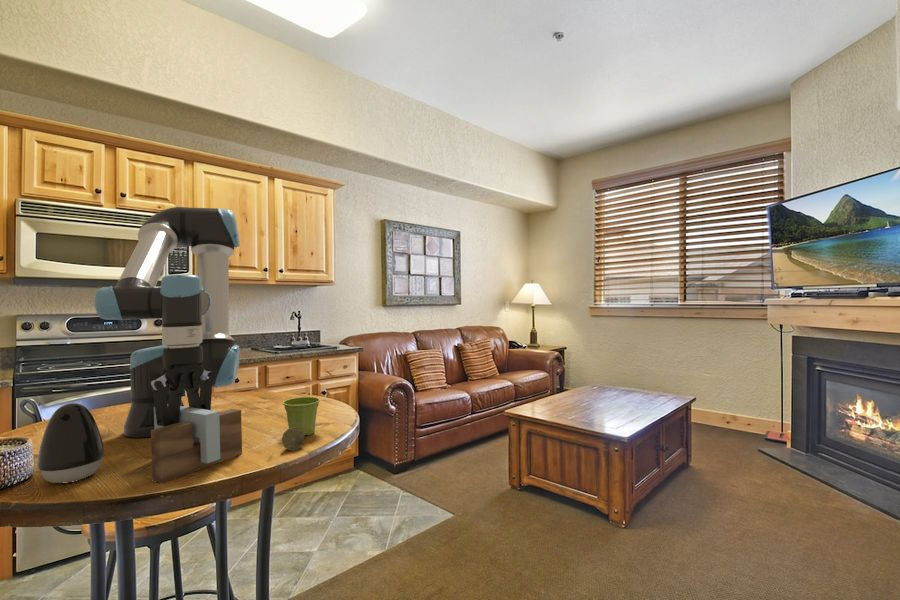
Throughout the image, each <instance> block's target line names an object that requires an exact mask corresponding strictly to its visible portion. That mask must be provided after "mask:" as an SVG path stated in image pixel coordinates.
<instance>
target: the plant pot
mask: <svg viewBox="0 0 900 600" xmlns="http://www.w3.org/2000/svg"><path fill="white" fill-rule="evenodd" d="M320 402H321V398H319V397H316V396H299V397H292V398H289V399H286V400H283V401H282V405H283V407H284V409H285V412H286V413H285V414H286V419H287V424H288V425H287V426H288V429H289V428H298V429H300V430H301V431H302V432H303V433H304V436H311V435H313V434H314V433H315V429H316V419H317V412H318V408H319V403H320Z"/></svg>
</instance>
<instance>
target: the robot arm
mask: <svg viewBox="0 0 900 600" xmlns="http://www.w3.org/2000/svg"><path fill="white" fill-rule="evenodd" d="M137 239H138V241H137V244H136V246H135V248H134V250H133V252H132V254H131V255H130V258H129V259H128V261H127V263H126V265H125V267H124V269H123V271H122V273H121V274H120V275H121V276H120V277H119V279H118V280H117V283H116V284H115V286H112V285H110V286H105V287H101V288H98V289H97V291H96V292H95V295H94V308H95V312H96V315H97V316H98V317H99V318H100V319H102V320H108V321H109V320H111V321H112V320H113V321H114V320H116V321H117V320H118V321H128V320H129V321H130V320H150V319H152V320H153V319H154V320H155V319H161V339H162V340H161V344H162V345H158V346H157V345H156V346H151V347H146V348H141V349H138V350H135V351H133V352H132V353H131V355H130V358H129V359H130V364H129V368H128V369H129V374H130V375H129V378H130V400H131V401H130V408H129V409H128V413H127V416H126V418H125V422H124V425H123V436H124V437H127V438H133V439H134V438H151V430H153V429H154V407H155V412H156V421H157V425H158V426H164V427H165V426H169V425H172V424H176V423H178V422H179V414H180V406H184V407H185V404H184V401H183V400H182V399H183V398H182V396H183V394H184V391H185V393H186V397H187V401H188V402H187V403H188V407H191V408H198V409H205V410H211V407H212V394H213V393H212V392H213V388H215V389H217V388H221V387H229V386H231V385H233V384H234V383H235V381H236V379H237V376H238V372H239V366H240V359H241V358H240V357H241V356H240V355H241V354H240V353H241V349H240V348H241V347H240V346H239V345H237V344H235V339H234V338H233V337H232V336H231V335H230V334H229V331H230V330H229V325H230V324H229V323H230V322H229V320H230V319H229V313H230V312H229V307H230V306H229V305H230V303H229V302H230V301H229V297H230V295H229V294H230V293H229V292H230V290H229V289H230V287H229V285H230V283H229V280H230V279H229V278H230V277H229V275H230V273H229V272H230V271H229V270H230V269H229V268H230V267H229V265H230V264H229V263H230V257H231V256H233V255H234V253H235V248H238V247H240V245H241V244H240V236H239V230H238V224H237V220H236V215H235V213H234V212H233V210H231V209H227V208H219V207H214V208H212V207H189V206H187V207H185V206H174V207H169V208H165V209H163V210H161V211H159V212H157V213H155V214H153V215H152V216H150V217H148V219H146V220H145V222H143V223H142V225H140V228H139V230H138V233H137ZM176 247H190V251H191V252H192V253H193V255H194V256H196V275H194V274H167V275H163V276H162V278H161V277H160V276H161V275H162V272H163V270H164V267H165V264H166V262H167V260H168V258H169V255H170V253H171V252H172V251H174V250H175V249H176ZM160 278H161V281H160V282H161V283H160V286H157V285H158V282H159V280H160ZM167 404H168V405H167Z"/></svg>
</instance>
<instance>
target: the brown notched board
mask: <svg viewBox="0 0 900 600" xmlns="http://www.w3.org/2000/svg"><path fill="white" fill-rule="evenodd" d="M219 421H220V459H219V460H216V461H213V462H210V463H207V464H206V463H202V462H201V451H200V440H199V441H197V442H194V443H193V423H189V422H180V423H176V424H172V425H169V426H165V427H161V428H157V429H153V430H151V437H150V447H151V448H150V450H151V454H150V455H151V481H152V480H153V481H152V482H154V481H156V482H155V483H157V482H158V484H161V483H162V484H164V483H166V481H167V482H170V481H172V480H174V479H177V478H181V477H182V476H183V477H184V476H186V475H189V474H190V473H194V472H196V471H200V470H202V469H205V468H207V467H209V466H212V465H216V464H217V463H221V462H223V461H226V460H229V459H232V458H234V457H236V456H239V455H242V454H243V436H242V434H243V433H242V427H243V426H242V409H237V408H231V409H227V410H223V411H219ZM169 480H170V481H169Z"/></svg>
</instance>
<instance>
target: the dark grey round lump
mask: <svg viewBox="0 0 900 600" xmlns="http://www.w3.org/2000/svg"><path fill="white" fill-rule="evenodd" d="M305 439H306V438H305V435H304V433H303V432H302V431H301V430H300V429H298V428H289V427H288V428H287V430H285V431H284V432H283V434H282V438H281V443H282V445H283V447H284V448H285V449H286V450H289V451H292V452H293V451H297V450H299V449H300V448H301V447H303V445H304V443H305Z"/></svg>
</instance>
